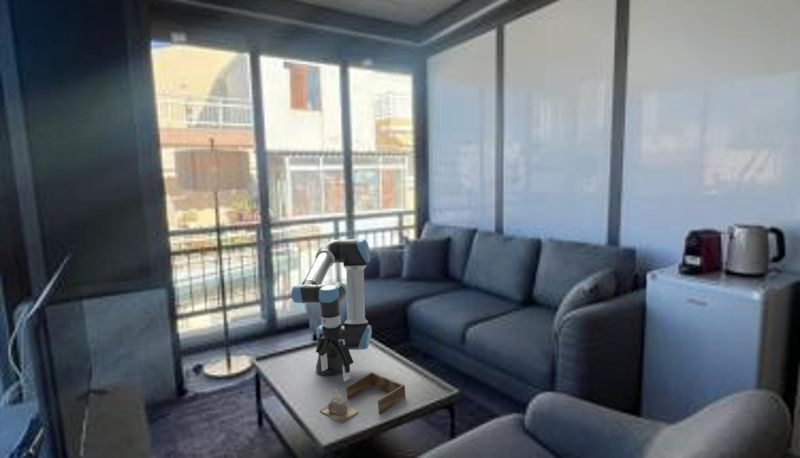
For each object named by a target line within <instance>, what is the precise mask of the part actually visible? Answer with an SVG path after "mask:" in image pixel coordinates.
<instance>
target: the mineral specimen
mask: <svg viewBox="0 0 800 458" xmlns="http://www.w3.org/2000/svg"><path fill="white" fill-rule="evenodd" d="M327 406H328V407H327V408H328V410H329V412H330V413H333V414H335V415H343V414H345V413H346V411H347V406H348V405H347V402H346V401H345V399H344V398H343V396H341V394H340V392H339V390H338V389H337V388H336V389H333V397H332V399H331V401H330V402H329V403H328V404H327Z"/></svg>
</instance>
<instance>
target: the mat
mask: <svg viewBox="0 0 800 458" xmlns="http://www.w3.org/2000/svg"><path fill="white" fill-rule="evenodd" d="M346 406H347V411H346V413H345V414H343V415H335V414H333V413H330V412H329V410H328V408H327V407H328V405H326V406H324V407H323V408H320V409H319V412H320V413H321V414H324V415H325V416H328V417H329V418H332V419H334V420H335V421H337V422H338V423H341V424H343V423H345V422H346V421H348V420H350V419H351V418H353V417H355V416H356V415H358V414H359V413H360V412H359V411H358V410H357V409H355V408H352V407H350V406H348V405H346Z"/></svg>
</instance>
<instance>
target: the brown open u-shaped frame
mask: <svg viewBox="0 0 800 458" xmlns="http://www.w3.org/2000/svg"><path fill="white" fill-rule="evenodd" d="M372 387H375V388H377V389H379V390H382V391H384V392H385V393H387V394H385V395H383V396H382V397H380V398H379V399H378V400H377V407H378V409H377V410H378V415H382V414H384V413H386V411H388V410H390V409H391V408H393V407H394V406H396V405H398V404H399V403H401V402H402V401H404V400H406V385H405V384H402V383H400V382H398V381H395V380H393V379H390V378H388V377H385V376H383V375H380V374H377V373H375V372H373V371H371V372H370V373H368V374H366V375H364V376H363V377H360V378H359V379H357V380H355V381H353V382H351V383H349V384H348V385H346V399H347V400H351V399H352V398H354V397H356V396H357V395H360V394H361V393H363V392H364V391H366V390H368V389H370V388H372Z"/></svg>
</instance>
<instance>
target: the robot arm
mask: <svg viewBox="0 0 800 458" xmlns="http://www.w3.org/2000/svg"><path fill="white" fill-rule="evenodd" d="M314 258H315V260H314V262H313V264H312V265H311V267H310V268H309V271H308V272H307V274H306V276H305V278H304V280H303V281H302V282H301V284H296V285H293V286H292V289H291V293H290V294H291V299H292V302H293V303H295V304H313V303H314V304H317V303H318V304H319V308H320V316H321V317H320V318H321V324H320V325H319V326H318V327H317V328H316V341H317V346H316V349H315V352H316V353H317V354H318V357H317V361H316V364H315V371H316V373H317V374H318V375H320V376H324V377H325V376H335V375H339V374H342V378H343V381H344V382H346V381H347V380H349V379H351V373H350V372H351V367H350V365H352V364H354V360H353V358H352V355H351V352H350V351H351V350H354V351H359V350H360V351H361V350H362V351H363V350H367V349H368V348H369V347H370V343H371V338H372V325H370V324H369V320H367V319H366V316H365V315H366V311H365V309H366V308H365V269H366V267H367V266H368V263H369V262H370V261H371V252H370V247H369V243H368V242H367V240H366V239H364V238H345V239H333V240H329V242H326V243H325V244H324V245H322V246H321V247H320V248H319V249H318V250H317V252H316V254H315V257H314ZM339 263H341V264H342V265H343V268H345V271H346V285H345V284H344V283H343V282H341V281H335V282H332V283H331V284H322V283H323V281H324V280H325V277H326V275H327V273H328V271H329V270H330V267H332V266H333V265H334V264H339ZM345 297H346V311H347V312H346V316H347V317H346V319H345V321H344V322H343V323H344V325H343V324H341V323H342V321H341V320H342V319H341V311H340V308H341V307H340V304H341V303H342V301H343V300H344V299H345Z"/></svg>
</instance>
